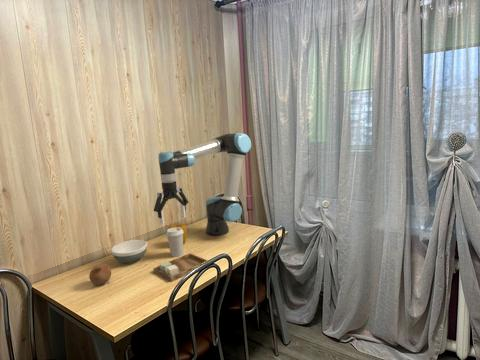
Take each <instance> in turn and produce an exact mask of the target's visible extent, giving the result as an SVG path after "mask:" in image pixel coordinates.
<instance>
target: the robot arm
mask: <svg viewBox="0 0 480 360" xmlns="http://www.w3.org/2000/svg"><path fill="white" fill-rule="evenodd" d="M251 147H252V142H251V138H250V137H249V136H248V134H246V133H241V132H238V133H236V132H235V133H225V134H222V135H220V136H217V137H214V138H212V139H211V140H209V141H206V142H203V143H200V144H197V145H193V146H191V147H187V148H183V149H180V150H177V151H163V152H160V153H158V163H159V164H158V165H159V172H160V178H161V179H160V181H161V189H162V192H157V193H156V194H157V197H156V200H155V204H154V207H153V212H155V213H157V218H158V219H159V223H160V224H161V225H165V220H164V218H165V217H164V212H163V209H164V207H165V205H166V203H167V202H168V200H171V199H176V200H177V201H178V202H179V204H180V212H181V213H180V214H181V217H182V218H186V217H187V216H186V211H187V207H186V206H187V204H189V200H188V199H187V197H186V196H185V194H184V191H183V188H181V187H178V185H177V181H176V180H177V178H176V170H178V169H183V168H190V167H193V166H194V165H195V163H196V161H195V160H196V159H199V158H202V157H205V156H209V155H210V154H211V155H212V154H214V153H215V154H220V153H226V154H227V155H226V156H228V164H227V170H226V176H225V177H226V178H225V183H224V184H225V185H224V191H223V196H215V197H211V198H207V199H206V200H205V207H206V210H205V211H206V218H207V222H206V227H205V234H206V235H207V236H210V237H211V236H212V237H219V236H223V235H225V234H226V235H227V234H228V233H229V232H230V228H229V225H228V222H229V223H234V222H237V221H238V220H239V219H240V218H241V217H242V213H243V208H242V206H241V205H240V198H239V197H238V196H239V188H240V182H241V175H242V170H243V169H242V168H243V162H244V159H245V158H246V156H247V153H248V152H249V151H250V150H251Z"/></svg>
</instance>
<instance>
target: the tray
mask: <svg viewBox="0 0 480 360" xmlns="http://www.w3.org/2000/svg"><path fill="white" fill-rule="evenodd" d="M206 261H209V260H207V259H205V258H203V257H200V256H199V255H195V254H193V253H190V252H189V253H186V254H185V255H184V254H183V255H182V256H180V257H176V258H175V259H172V260H170V261H168V262H169V263H171V264H172V265H175V266H177V267H178V272H179V274H176V275H174V276H170V275H168V274H166V273H165V272H163V271H161V270H160V265H157V266H156V267H153V269H152V270H153V273H156V274H157V275H159V276H160V277H162V278H164V279H165V280H167V281H170V282H171V283H172V282H175V281H177V280H179V279H181V278H183V276H184V277H186V276H187V275H186V274H187V273H188V272H189V271H191V270H192V269H194V268H196V267H197V266H199V265H201V264H202V263H204V262H206ZM185 275H186V276H185Z"/></svg>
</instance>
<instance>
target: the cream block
mask: <svg viewBox="0 0 480 360" xmlns="http://www.w3.org/2000/svg"><path fill="white" fill-rule="evenodd" d="M167 274H168V275H170V276H174V275H176V274H179V272H178V267H177V266H175V265H172V266H169V267H167Z"/></svg>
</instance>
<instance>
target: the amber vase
mask: <svg viewBox="0 0 480 360" xmlns="http://www.w3.org/2000/svg"><path fill="white" fill-rule="evenodd" d="M174 227H180V228H182V230H183V232H184V233H183V245H185V244H186V240H187V235H188V229H187V225H186V224H183V223H175V224H171V225H170V226H169V227H168V229H170V228H174Z"/></svg>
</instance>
